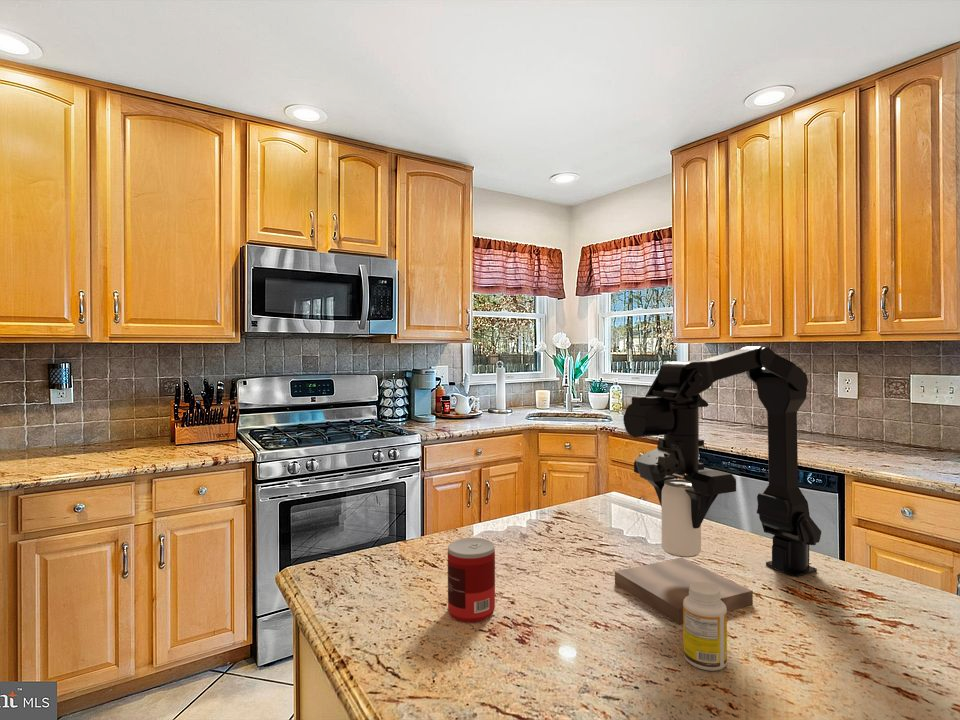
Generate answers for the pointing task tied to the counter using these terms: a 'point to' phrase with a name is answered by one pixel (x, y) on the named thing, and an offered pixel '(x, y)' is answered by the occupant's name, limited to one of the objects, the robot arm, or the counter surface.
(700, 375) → the robot arm
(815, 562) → the counter surface
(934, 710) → the counter surface
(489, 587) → the canned food
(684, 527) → the can
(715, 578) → the base
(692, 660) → the supplement bottle
